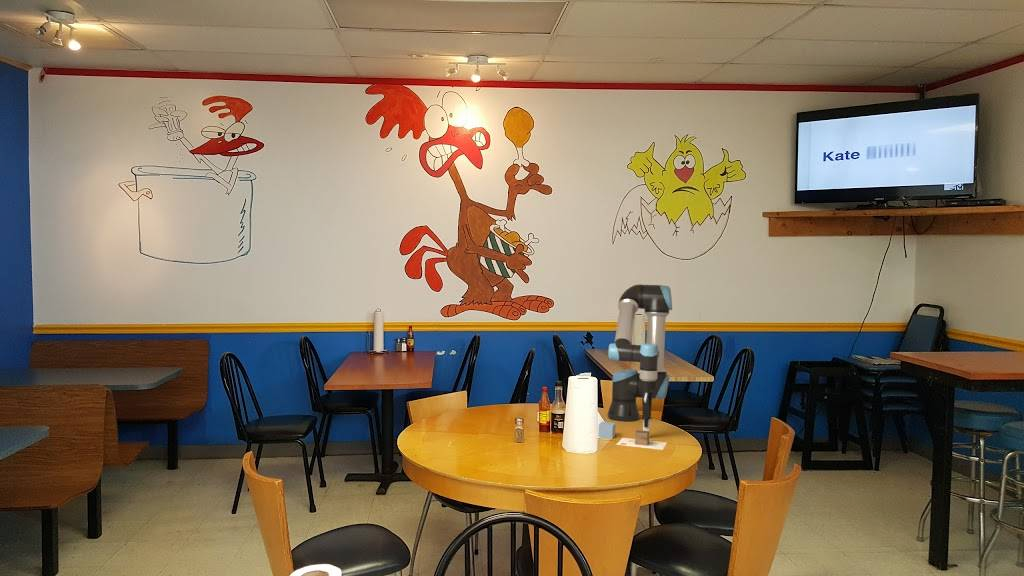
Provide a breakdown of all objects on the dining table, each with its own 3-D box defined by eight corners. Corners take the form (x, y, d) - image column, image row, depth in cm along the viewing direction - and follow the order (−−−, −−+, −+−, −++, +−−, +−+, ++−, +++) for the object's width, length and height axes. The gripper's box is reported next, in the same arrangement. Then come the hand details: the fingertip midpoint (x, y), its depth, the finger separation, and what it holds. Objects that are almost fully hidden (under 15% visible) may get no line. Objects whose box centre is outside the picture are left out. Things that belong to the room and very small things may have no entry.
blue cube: (601, 435, 330) (602, 421, 329) (615, 436, 327) (615, 423, 327) (598, 438, 324) (598, 424, 324) (612, 439, 322) (612, 426, 322)
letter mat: (619, 436, 327) (619, 436, 327) (671, 442, 319) (671, 441, 319) (611, 445, 312) (611, 445, 312) (665, 452, 304) (665, 451, 304)
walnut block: (636, 441, 319) (637, 429, 318) (648, 442, 317) (649, 431, 317) (634, 444, 314) (635, 432, 314) (646, 445, 312) (647, 433, 312)
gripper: (642, 376, 331) (640, 429, 332) (636, 381, 319) (634, 436, 320) (659, 378, 329) (657, 431, 330) (654, 382, 316) (652, 438, 317)
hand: (646, 433), depth 325 cm, fingers closed
